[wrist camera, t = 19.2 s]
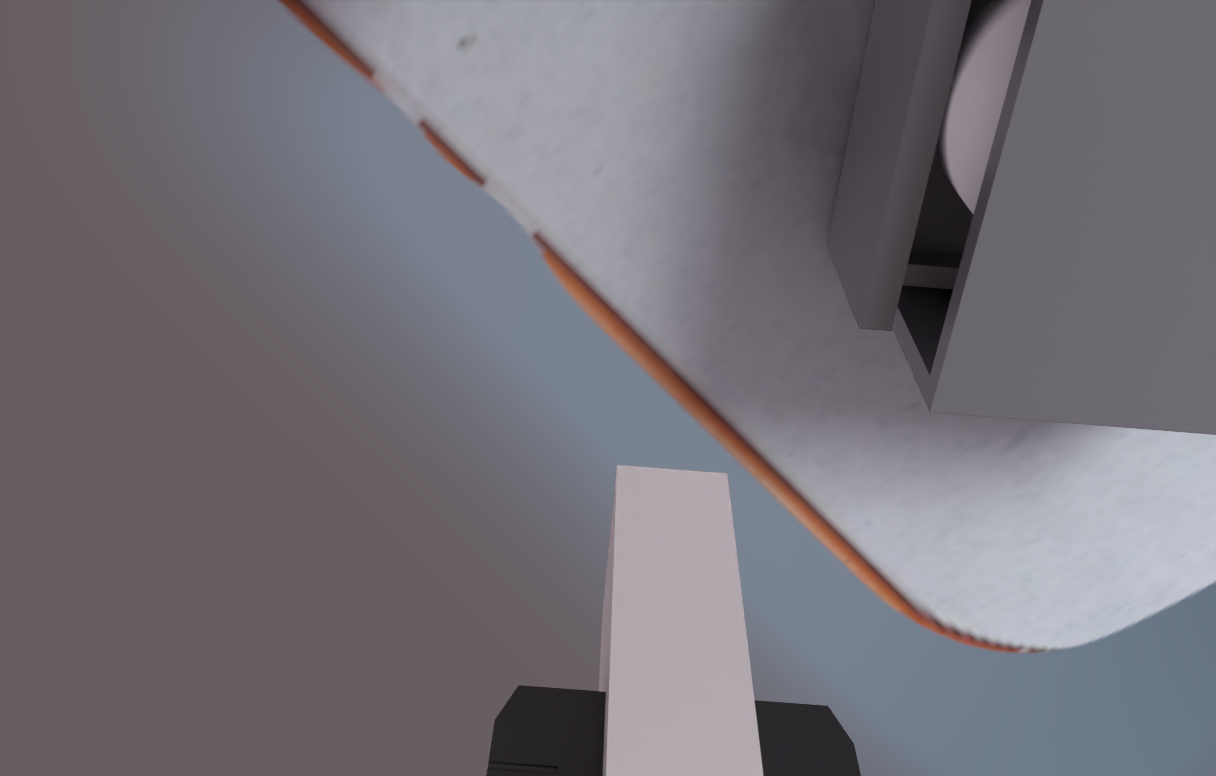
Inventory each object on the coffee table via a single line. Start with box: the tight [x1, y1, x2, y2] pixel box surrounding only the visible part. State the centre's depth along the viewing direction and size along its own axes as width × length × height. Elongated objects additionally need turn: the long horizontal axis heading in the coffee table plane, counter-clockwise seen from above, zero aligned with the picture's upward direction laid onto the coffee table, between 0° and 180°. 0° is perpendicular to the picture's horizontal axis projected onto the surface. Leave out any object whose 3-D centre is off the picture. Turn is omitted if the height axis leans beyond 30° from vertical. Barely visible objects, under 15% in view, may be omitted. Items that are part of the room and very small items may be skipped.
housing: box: [893, 0, 1216, 435], centre depth 31 cm, size 17×14×9 cm
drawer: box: [827, 0, 993, 331], centre depth 32 cm, size 15×14×7 cm
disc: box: [936, 0, 1031, 215], centre depth 29 cm, size 8×8×2 cm
